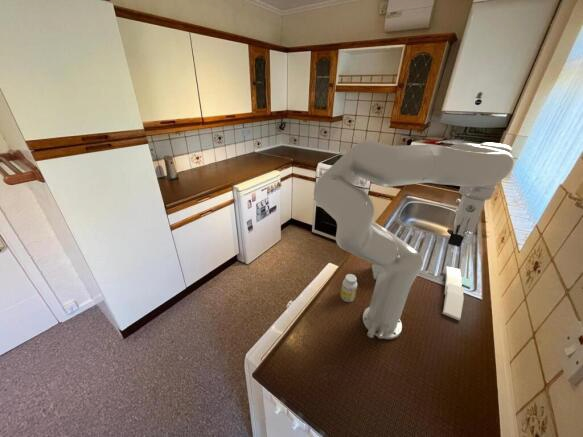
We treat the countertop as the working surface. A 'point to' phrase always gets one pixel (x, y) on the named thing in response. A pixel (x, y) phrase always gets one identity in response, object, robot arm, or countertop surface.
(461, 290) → the domino
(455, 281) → the domino
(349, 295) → the supplement bottle
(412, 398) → the countertop surface
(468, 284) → the domino
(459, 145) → the robot arm
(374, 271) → the small box
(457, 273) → the domino
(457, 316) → the domino
